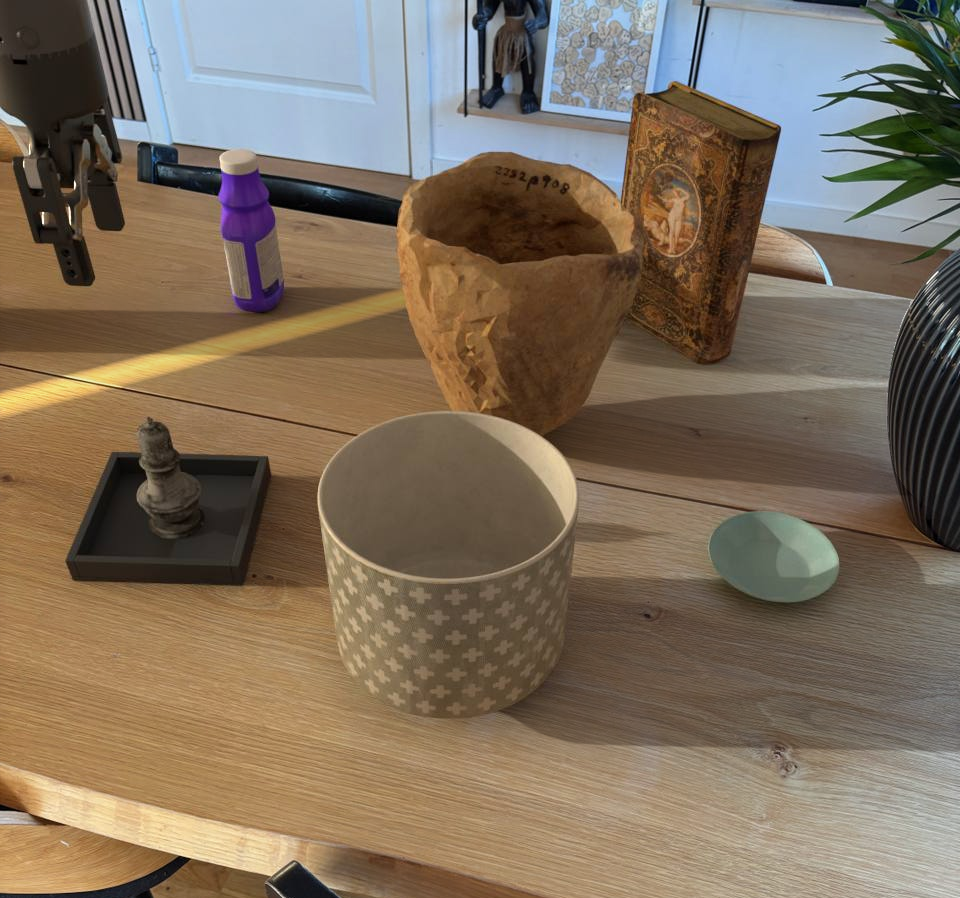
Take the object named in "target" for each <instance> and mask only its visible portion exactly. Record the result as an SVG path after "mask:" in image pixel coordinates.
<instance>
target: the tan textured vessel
mask: <svg viewBox="0 0 960 898" xmlns="http://www.w3.org/2000/svg"><path fill="white" fill-rule="evenodd" d="M397 217H398V218H397V226H396V239H397V247H396V254H397V260H398V266H399V272H398V273H399V282H400V283H401V286H402V290H403V293H404V298H405V299H404V300H405V308H406V311H407V314H408V318H409V322H410V325H411V326H412V329H413V332H414V335H415V337H416V339H417V341H418V343H419V346H420V347H421V350H422V352H423V354H424V356H425V357H426V360H427V361H428V363H429V365H430V366H431V367H430V368H431V371H432V373H433V376H434V377H435V380H436V382H437V386H438V387H439V390H440V391H441V394H442V396H443V399H444V400H445V402H446V404H447V405H448V406H449V408H450V410H451V411H463V412H473V413H480V414H486V415H491V416H495V417H499V418H502V419H506V420H509V421H512V422H514V423H517V424H519V425H522V426H524V427H526V428H528V429H530V430H532V431H534V432H535V433H537V434H539V435H540V436H542V437H544V436H545V435H546V434H548V433H550V432H552V431H553V430H555V429H556V428H559V427H561V426H563V425H564V424H566V423H567V422H568V421H569V420H571V419H572V418H573V417H574V415H575V414H576V413H578V411H579V410H580V409H581V408H582V407H583V406H584V405H585V403H586V401H587V400H588V398H589V396H590V394H591V391H592V389H593V386H594V383H595V381H596V379H597V376H598V373H599V371H600V369H601V367H602V365H603V364H604V361H605V358H606V357H607V354H608V353H609V350H610V348H611V347H612V343H613V341H614V340H615V338H616V337H617V336H618V334H619V332H620V330H621V327H622V326H623V323H624V321H625V320H626V318H625V317H626V316H627V314H628V312H629V310H630V308H631V306H632V304H633V301H634V298H635V295H636V293H637V290H638V286H639V283H640V280H641V273H642V270H643V253H644V250H645V240H644V234H643V227H642V224H641V222H640V221H639V219H638V218H637V217H636V216H634V215H633V214H631V213H629V212H628V211H627V210H626V208H625V207H624V206H623V205H622V204H621V199H620V198H619V196H618V194H617V193H616V192H615V191H614V190H613V189H612V188H611V187H610V186H608V185H607V184H606V183H604V182H603V181H602V180H600V179H599V178H598V177H596V176H595V175H594V174H592V173H591V172H589V171H586V170H584V169H581V168H579V167H577V166H575V165H571V164H570V163H568V164H567V163H556V162H552V161H547V160H540V159H534V158H531V157H527V156H524V155H521V154H518V153H515V152H514V151H513V152H512V151H486V152H480V153H479V154H476V155H474V156H472V157H470V158H468V159H466V160H465V161H464V162H462V163H461V164H459V165H456V166H454V167H451V168H448V169H445V170H442V171H440V172H439V173H437V174H436V173H435V174H433V175H432V174H431V175H429V176H427V177H425V178H423V179H421V180H418V181H417V182H415V183H413V184H411V185H410V187H409V188H408V189H407V190H406V191H405V192H404V193H403V195H402V202H401V204H400V207H399V209H398V215H397Z"/></svg>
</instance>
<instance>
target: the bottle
mask: <svg viewBox="0 0 960 898" xmlns="http://www.w3.org/2000/svg"><path fill="white" fill-rule="evenodd" d="M219 166H220V170H221V187H220V190H219V192H218V201H219V203H220V205H222V207H221V215H220V232H221V236H222V242H223V248H224V253H225V258H226V264H227V270H228V277H229V282H230V288H231V295H232V298H233V301H234V303H235V306H236V307H237V308H238V309H240V310H242V311H248V312H254V313H265V312H269V311H270V310H272V309H274V307H276V306H277V305H278V304H279V302H280V301H281V300H282V297H283V295H284V290H285V280H284V273H283V266H282V259H281V252H280V246H279V245H280V243H279V237H278V230H277V223H276V220H277V219H276V214H275V212H274V210H273V207H272V206H271V204H270V202H269V198H270V192H269V189H268V188H267V186H266V185H265V184H264V182H263V180H262V178H261V174H260V169H259V164H258V157H257V154H256V153H255V152H254V151H253V150H251V149H247V148H236V149H235V148H233V149H230V150H226V151H225V152H223V153H221V154H220V155H219Z"/></svg>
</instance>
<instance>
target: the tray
mask: <svg viewBox="0 0 960 898" xmlns="http://www.w3.org/2000/svg"><path fill="white" fill-rule="evenodd" d="M179 454H180V461H179V463H178V464H179V467H180V471H181V472H183V473H187V474H190V475H192V476H193V477H195V478H196V479H197V480H198V481H199V483H200V485H201V493H200V496H199V502H198V506H199V507H201V508H202V510H203V511H204V515H205V520H204V523H203V525H202V527H201V528H200V529H199V530H198V531H196V532H195V533H193V534H191V535H189V536H187V537H184V538H179V539H165V538H161V537H158V536H156V535H155V534H154V533H152V532H151V530H150V528H149V524H148V521H149V518H150V515H149V514H148V513H147V512H146V511H145V509H144V508H143V507H141V506H140V504H139V503H138V501H137V492H138V489H139V488H140V486H141V485H142V484H143V483H144V482H145V481H146V480H147V479H148V478H147V474H146V471H145V469H143V468H142V467H141V465H140V462H139V460H140V457H141V456H142V454H141V451H140V452H139V451H138V452H137V451H135V452H134V451H111V452H110V455H109V458H108V460H107V462H106V464H105V467H104V469H103V471H102V474H101V476H100V477H99V480H98V483H97V485H96V487H95V490H94V492H93V495H92V497H91V498H90V502H89V504H88V506H87V508H86V511H85V513H84V515H83V518H82V521H81V523H80V524H79V527H78V529H77V532H76V535H75V536H74V539H73V541H72V543H71V546H70V548H69V550H68V552H67V555H66V557H65V560H64V562H65V564H66V568H67V569H68V572H69V574H70V576H71V579H72V581H79V582H81V581H84V582H85V581H86V582H114V583H115V582H117V583H118V582H119V583H147V584H149V583H150V584H151V583H152V584H153V583H154V584H183V585H184V584H186V585H188V584H189V585H221V586H244V585H245V581H246V578H247V574H248V569H249V565H250V561H251V559H252V558H251V557H252V553H253V549H254V547H255V546H254V545H255V542H256V538H257V534H258V530H259V527H260V526H259V525H260V522H261V518H262V514H263V511H264V507H265V502H266V499H267V495H268V492H269V491H268V490H269V487H270V483H271V480H272V471H271V466H270V461H269V460H270V459H269V456H268V455H247V454H246V455H245V454H243V455H242V454H213V453H212V454H211V453H210V454H205V453H179Z"/></svg>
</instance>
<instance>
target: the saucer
mask: <svg viewBox="0 0 960 898" xmlns="http://www.w3.org/2000/svg"><path fill="white" fill-rule="evenodd" d="M707 551H708V557H709V559H710V562H711V564H712V566H713V568H714V569H715V571H716V572H717V573H718V575H720V577H721V578H723V580H724V581H725V582H727V583H728V584H729V585H731V586H732V587H734V589H736V590H738V591H740V592H741V593H743V594H746V595H747V596H750V597H752V598H755V599H758V600H762V601H765V602H770V603H771V602H772V603H798V602H804V601H808V600H811V599H814V598H817V597H819V596H820V595H822V594H824V593H826V592H827V591H828V590H829V589H830V588H831V587H832V586H833V585H834V584H835V582H836V581H837V579H838V576H839V573H840V558H839V555H838V552H837V550H836V548H835V546H834V544H833V543H832V541H831V540H830V539H829V538H828V537H827V536H826V535H825V534H824V533H823V532H821V530H819V529H818V528H816V527H815V526H814V525H813V524H811V523H809V522H807V521H805V520H803V519H802V518H799V517H798V516H797V517H796V516H793V515H791V514H786V513H783V512H778V511H769V510H756V511H747V512H741V513H738V514H735V515H732V516H730V517H728V518H726V519H724V520H723V521H721V522H720V523H719V524H718V525H717V526H716V527H715V528H714V529H713V531H712V533H711V534H710V537H709V539H708V546H707Z"/></svg>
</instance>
